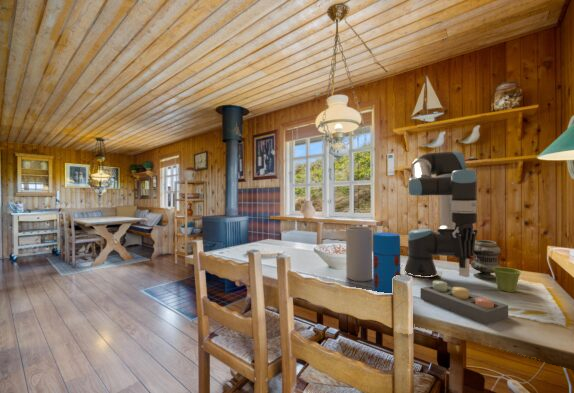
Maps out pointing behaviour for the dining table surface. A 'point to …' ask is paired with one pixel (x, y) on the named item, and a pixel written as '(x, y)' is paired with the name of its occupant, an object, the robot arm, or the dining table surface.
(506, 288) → the plant pot
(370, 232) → the cylinder vase
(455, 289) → the ochre button
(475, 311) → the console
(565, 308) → the dining table surface
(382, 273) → the thermos
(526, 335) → the dining table surface
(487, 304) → the pink button
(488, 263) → the apothecary jar
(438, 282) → the sage button
